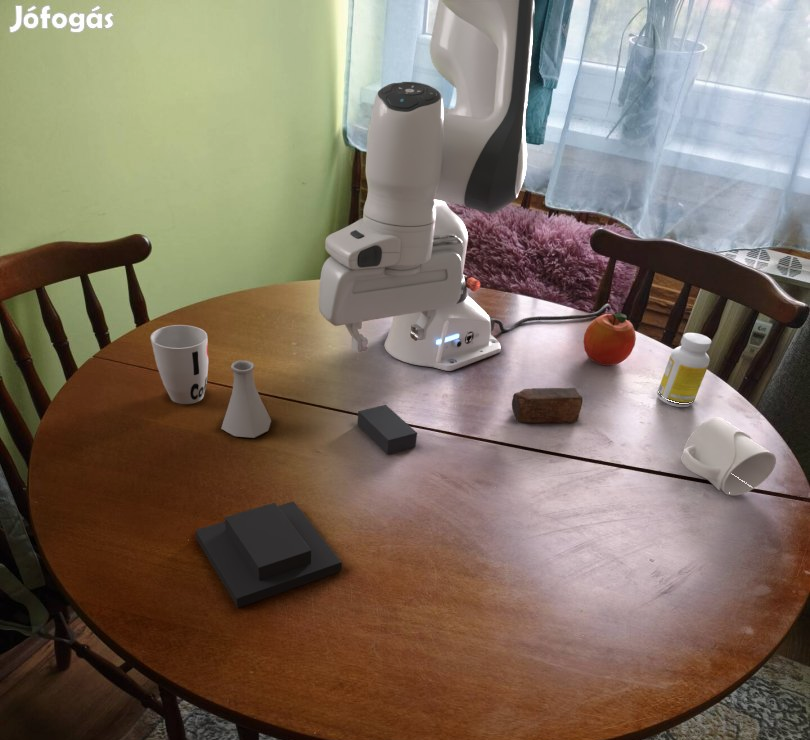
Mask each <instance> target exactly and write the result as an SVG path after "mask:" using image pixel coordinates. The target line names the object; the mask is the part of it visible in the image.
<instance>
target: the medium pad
mask: <svg viewBox="0 0 810 740" xmlns="http://www.w3.org/2000/svg"><path fill="white" fill-rule="evenodd" d="M278 506H279V505H277V504H276V502H272V503H268V504H265V505H261V506H258V507H255V508H251V509H248V510H245V511H241V512H237V513H234V514H233V513H232V514H229V515H227V516H224V521H225V526H226V531H227V532H228V534H229V535H230V537H231V538H232V540H233V541H234V543H235V544H236V546H237V547H238V549H239V550H240V552H241V553H242V555H243V556H244V558H245V559H246V561H247V563H248V564H249V566H250V567H251V569H252V570H253V572H254V573H255V575H256V576H257V578H258V579H259V580H263V579H266V578H269V577H272V576H275V575H277V574H280V573H283V572H286V571H289V570H292V569H295V568H298V567H301V566H304V565H307V564H310V563H311V550H310V548H309V547H308V546H307V544H306V543H305V542H304V540H303V539H302V538H301V536H300V535H299V534H298V532H297V531H296V530H295V529H294V527H293V526H292V525H291V523H290V522H289V521H288V519H287V518H286V517H285V515H284V514H283V513H282V511H281V510H280V509H279V508H278Z"/></svg>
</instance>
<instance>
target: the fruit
mask: <svg viewBox="0 0 810 740" xmlns="http://www.w3.org/2000/svg"><path fill="white" fill-rule="evenodd" d="M636 340H637V336H636V330H635V328H634V325H633V323H632V322H631V321H630V320H627V315H626V314H624V313H621V312H619V313H618V312H617V311H616V312H614V313H612V314H611V313H605V314H600V315H598V317H597V316H596V318H595V319H593V320H592V322H591V323H590V324H589V325H588V327H587V328H586V330H585V332H584V335H583V342H582V343H583V347H584V348H583V349H584V352H585V354H586V356H587V357H588V358H589V359H590V360H591V361H593V362H594V363H596V364H599V365H602V366H614V365H619V364H620V363H622V362H624V361H625V360H627V359H628V357H629V356H630V355H631V353H632V352H633V350H634V348H635V345H636Z"/></svg>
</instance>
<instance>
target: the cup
mask: <svg viewBox="0 0 810 740" xmlns="http://www.w3.org/2000/svg"><path fill="white" fill-rule="evenodd" d="M208 339H209V338H208V333H207V332H206V331H205V330H203V328H200V327H197V326H193V325H186V324H172V325H167V326H163V327H160V328H157V329H156V330H154V331H153V332H152V333H151V334H150V342H151V346H152V351H153V355H154V359H155V364H156V367H157V370H158V373H159V375H160V376H159V377H160V380H161V381H162V385H163V386H164V388H165V390H166V392H167V394H168V396H169V399H170V400H171V401H172V402H173V403H176V404H179V405H193V404H197V403H199V402H201V401H202V400H203V399H204V396H205V392H206V387H207V383H208V375H209V374H208V371H209V342H208V341H209V340H208Z"/></svg>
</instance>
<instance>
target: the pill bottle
mask: <svg viewBox="0 0 810 740" xmlns="http://www.w3.org/2000/svg"><path fill="white" fill-rule="evenodd" d="M682 335H683V336H682V338H681V340H680V345H679V346H677V347H675V348H673V350H672V351H671V353H670V356H669V358H668V361H667V364H666V367H665V369H664V372H663V375H662V378H661V381H660V384H659V387H658V390H657V398H658V399H659V400H660V401H661V402H663V403H665V405H666V404H667V405H669V406H672V407H677V408H686V407H689V406H692V405H693V404H694V402H695V400H696V397H697V395H698V392H699V390H700V387H701V384H702V383H703V380H704V378H705V375H706V373H707V370H708V367H709V365H710V362H711V359H710V356H709V354H708V353H707V352H708V351H709V350H710V348H711V345H712V339H711V338H709V337H708V336H707V335H704V334H701V333H697V332H686V333H684V334H682ZM658 391H659V393H660V394H659V393H658ZM661 395H662V396H663V397H664V398H663V397H662V396H661ZM665 398H666V399H669V400H672V401H675V402H679V403H689V402H692V401H693V402H692V403H689V404H679V403H674V402H671V401H668V400H666V399H665Z"/></svg>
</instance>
